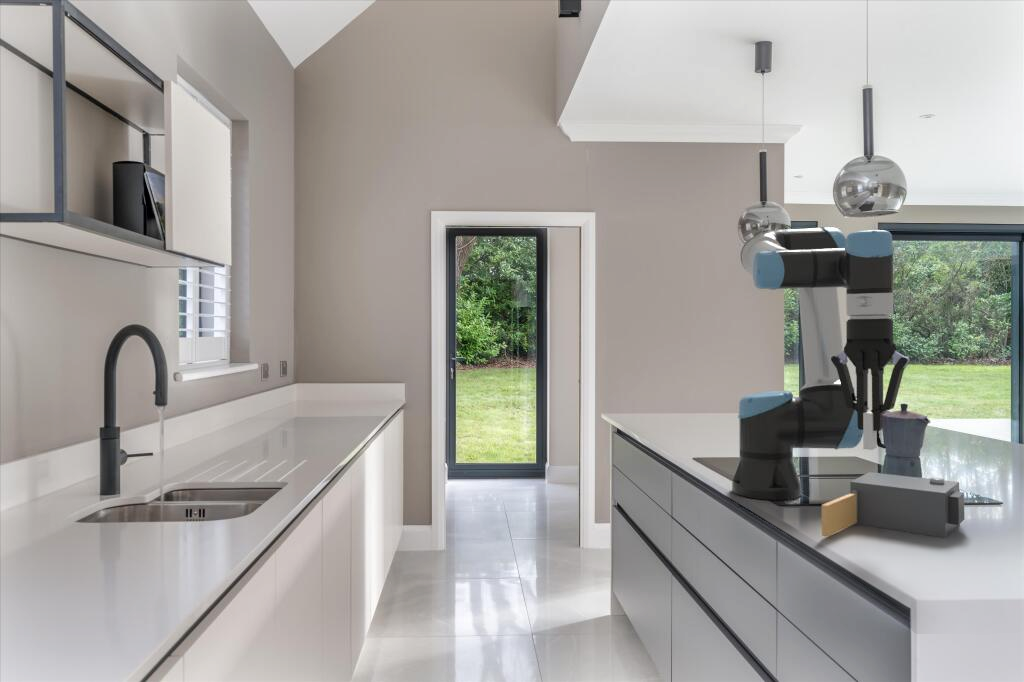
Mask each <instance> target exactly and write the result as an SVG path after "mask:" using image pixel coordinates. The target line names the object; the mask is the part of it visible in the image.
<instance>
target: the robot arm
mask: <svg viewBox="0 0 1024 682" xmlns="http://www.w3.org/2000/svg"><path fill="white" fill-rule="evenodd" d="M894 251H895V249H894V243H893V235H892V233H891V232H890V231H888V230H883V229H881V230H880V229H877V230H876V229H874V230H873V229H871V230H860V231H855V232H854V231H852V232H851V233H849V234H847V236H845V234H844V233H843V231H842V230H840V229H839V228H836V227H824V226H819V227H811V228H809V227H808V228H792V229H791V228H790V229H787V228H786V229H772V230H767V231H764V232H761V233H759V234H756V235H754V236H752V237H750V239H748V240H747V241H746V242H745V243H744V244H743V246H742V249H741V251H740V262H741V265H742V267H743V268H744V269H745V270H746V272H748V273H749V274H751V275H752V277H753V278H752V279H753V283H754V286H755V287H756V288H757V289H758V290H761V289H762V290H771V291H772V290H781V289H785V290H786V289H796V290H798V301H799V313H800V327H801V338H802V339H801V340H802V350H803V351H802V353H803V365H804V378H805V379H804V381H805V383H804V385H803V386H802V387H801V388H800V389H799V396H794V394H792V391H791V390H773V391H770V390H769V391H763V392H762V391H761V392H756V393H750V394H747V395H745V396H743V397H742V398H740V400H739V404H738V406H739V409H738V416H737V418H738V419H739V424H738V425H739V429H738V430H739V436H738V439H739V442H738V443H739V444H738V445H739V460H738V462H737V466H736V468H735V472H734V474H733V478H732V481H731V489H732V492H733V493H734V494H735V495H739V496H741V497H745V498H749V499H759V500H773V501H775V500H776V501H777V500H779V501H780V500H790V499H791V500H793V499H797V498H799V497H801V496H802V494H803V493H802V483H801V480H800V477H799V475H798V472H797V469H796V466H795V463H794V458H793V457H794V455H793V454H794V452H793V451H794V449H834V450H841V449H842V450H843V449H853V448H856V447H857V446H858V445H859V444H860V443H861V441H862V439H863V441H862V442H863V447H862V448H863V450H870V451H872V450H875V449H877V447H878V446H877V431H879V432H880V431H882V428H883V412H884V411H890V410H892V409H894V408H895V405H896V401H897V397H898V394H899V390H900V387H901V386H900V385H901V383H902V379H903V375H904V371H905V369H906V368H907V366H908V365H909V364H910V363H911V357H909V356H905V355H903V354H901V353H900V352H898V351H897V346H896V345H895V343H894V320H893V318H890V316H892V315H894V293H893V292H894V291H893V290H894V287H893V285H894V277H893V276H894V264H893V263H894V253H895V252H894ZM838 288H846V291H845V292H846V293H845V294H846V295H845V298H846V299H845V301H846V302H845V303H846V304H845V305H846V307H845V308H846V316H847V317H849V319H847V320H846V321H845V323H846V324H845V325H846V336H845V337H846V342H845V345H844V347H843V336H842V327H841V316H840V305H839V304H840V303H839V295H838ZM848 360H849V361H850V362H851V363H852V365H853V366H854V367H855V375H856V377H855V378H856V393H855V388H854V386H853V382H852V378H851V374H850V370H849V367H848V365H847V364H848V362H849V361H848ZM891 360H892V364H893V368H892V371H891V375H890V379H889V381H888V387H887V390H886V392H885V393H886V394H885V398H884V374H885V372H884V371H885V367H886V366H887V365H888V363H889V362H890V361H891ZM869 369H870V375H871V410H870V411H868V410H869V408H870V406H869V404H868V403H869V401H868V400H869V399H868V398H869V396H868V395H869V393H868V392H869V384H868V379H869V378H868V377H869V376H868V375H869Z"/></svg>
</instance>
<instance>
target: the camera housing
mask: <svg viewBox="0 0 1024 682" xmlns="http://www.w3.org/2000/svg"><path fill="white" fill-rule="evenodd" d="M849 484H850V488H849V489H850V493H852V490H858V524H857V525H860V526H861V525H862V526H868V527H874V528H880V529H881V528H882V529H887V530H894V531H901V532H907V533H914V534H919V535H925V536H932V537H940V538H943V539H944V538H945V539H946V538H947V537H948V536H949V535H950V534H951V533H952V532H953V531H954V530H955V529H956V528H957V527H958V526H960V525H961V523H963V521H964V520H965V492H962V491H960V481H952V480H951V481H950V480H945V479H944V478H942V477H941V478H940V477H929V478H926V477H922V478H918V477H909V476H899V475H890V474H882V472H872V471H871V472H870V471H869V472H866V473H865V474H863V475H861V476H859V477H857V478H854V479H853V480H851V481H850V483H849Z"/></svg>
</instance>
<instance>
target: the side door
mask: <svg viewBox="0 0 1024 682" xmlns="http://www.w3.org/2000/svg"><path fill="white" fill-rule="evenodd" d="M852 525H859V524H858V490H852V493H851V492H850V493H848V494H845V495H843V496H840V497H838V498H836V499H833V500H831V501H828V502H825V503H823V504H821V536H823V537H830V536H832V535H833V534H836V533H838V532H840V531H842V530H844V529H846V528H848V527H850V526H852Z"/></svg>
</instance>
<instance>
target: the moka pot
mask: <svg viewBox="0 0 1024 682" xmlns="http://www.w3.org/2000/svg"><path fill="white" fill-rule="evenodd" d="M908 406H909V404H908V403H900V409H899V410H895V411H890V410H887V411H884V412H883V428H882V430H881V431H882V439H883V443H882V440H881V437H880V431H877V447H879V448H881V449H885V455H884V459H883V465H882V470H881V474H890V475H899V476H909V477H918V478H923V472H922V461H921V458H920V456H921V450H922V448H923V445H924V439H925V434H926V428H927V427H928V424H931V420H930V419H929V418H928V416H927V415H924V414H921V413H916V412H913V411H909V410H908Z"/></svg>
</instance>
